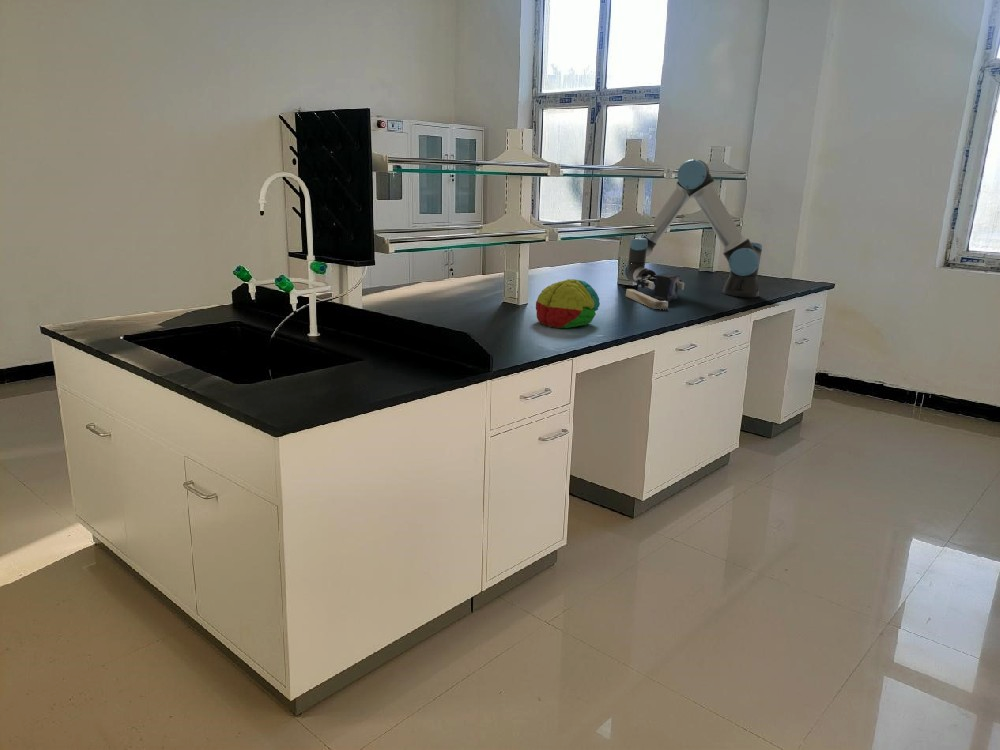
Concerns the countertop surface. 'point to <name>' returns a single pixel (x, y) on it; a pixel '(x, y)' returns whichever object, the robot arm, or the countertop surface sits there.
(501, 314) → the countertop surface
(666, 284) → the small box
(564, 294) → the brain model
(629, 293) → the bar
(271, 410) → the countertop surface
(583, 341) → the countertop surface
